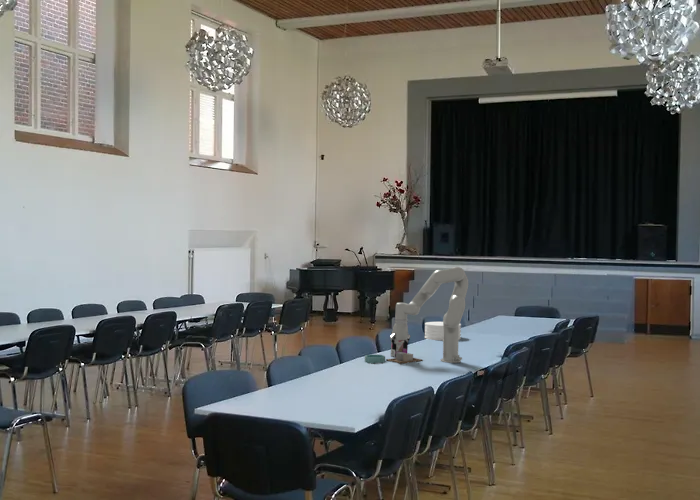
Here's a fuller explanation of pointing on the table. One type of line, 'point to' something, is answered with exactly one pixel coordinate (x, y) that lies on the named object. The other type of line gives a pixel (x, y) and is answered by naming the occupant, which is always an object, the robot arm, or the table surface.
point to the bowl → (374, 358)
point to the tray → (403, 361)
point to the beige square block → (407, 357)
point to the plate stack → (436, 330)
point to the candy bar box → (398, 348)
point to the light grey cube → (399, 356)
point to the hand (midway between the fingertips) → (399, 349)
